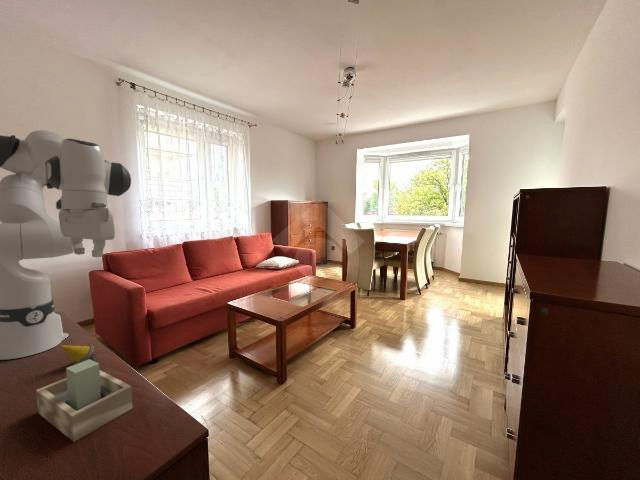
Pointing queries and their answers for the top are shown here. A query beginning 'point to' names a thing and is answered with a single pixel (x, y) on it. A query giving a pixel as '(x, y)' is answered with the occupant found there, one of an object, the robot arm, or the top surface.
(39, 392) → the box
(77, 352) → the drill bit
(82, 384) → the peg
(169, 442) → the top surface
